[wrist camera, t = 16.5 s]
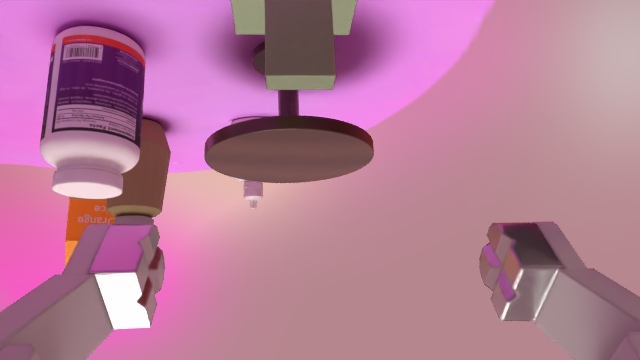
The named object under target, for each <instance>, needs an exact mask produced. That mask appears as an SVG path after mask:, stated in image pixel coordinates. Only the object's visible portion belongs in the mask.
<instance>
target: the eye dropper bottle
mask: <svg viewBox="0 0 640 360" xmlns="http://www.w3.org/2000/svg"><path fill="white" fill-rule="evenodd" d="M257 118H262V117H249V118H241V119H237V120H234V121H232V123H231V125H232V124H235V123H238V122H242V121H246V120H251V119H257ZM235 179H236V180H238V181H241V182H244V199H246V200H248V201H249V203H250V208H251V209H256V206H257V202H258V200H260V199H262V198H263V186H262V185H263V183H262V182H257V181H249V180H243V179H238V178H235Z"/></svg>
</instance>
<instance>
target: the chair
mask: <svg viewBox="0 0 640 360" xmlns="http://www.w3.org/2000/svg"><path fill="white" fill-rule="evenodd" d="M356 3H357V0H231V6H232V12H233V18H234V25H235V31H236V34H237V35H265V72H266V89H267V90H332V89H333V87H334V83H335V78H336V64H335V47H334V35H349V32H350V28H351V24H352V20H353V16H354V12H355V7H356Z"/></svg>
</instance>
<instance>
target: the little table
mask: <svg viewBox="0 0 640 360" xmlns="http://www.w3.org/2000/svg"><path fill="white" fill-rule="evenodd" d="M253 65H254V67H255V69H256V70H257V71H258V72H260V73H261V74H263V75H265V76H266V72H265V42H264V43H262V44H261V45H259V46H258V47H257V48H256V49H255V50H254V52H253ZM278 105H279V116H273V117H264V118H257V119H251V120H246V121H242V122H238V123H235V124H232V125H229V126H227V127H224V128H222V129H220V130H218V131H216V132H215V133H213V134H212V135H211V136H210V137H209V138H208V139H207V141H206V143H205V161H206V163H207V164H208V165H209V166H210V167H211V168H212V169H214V170H215V171H217V172H219V173H222V174H224V175H227V176H231V177H234V178H238V179H243V180H249V181H257V182H269V183H296V182H297V183H298V182H310V181H318V180H325V179H330V178H334V177H339V176H342V175H345V174H349V173H351V172H354V171H356V170H358V169H361V168H362V167H364V166H366V165H367V164H368V163H369V162H370V161H371V160H372V158H373V155H374V150H373V140H372V138H371V136H370V135H369V134H368V133H367V132H366V131H365V130H363V129H362V128H360V127H358V126H356V125H353V124H350V123H347V122H344V121H340V120H335V119H330V118H324V117H315V116H299V100H298V90H278Z"/></svg>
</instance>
